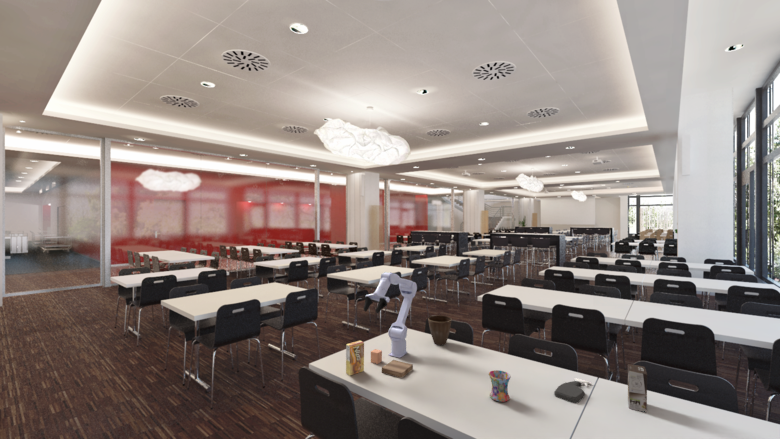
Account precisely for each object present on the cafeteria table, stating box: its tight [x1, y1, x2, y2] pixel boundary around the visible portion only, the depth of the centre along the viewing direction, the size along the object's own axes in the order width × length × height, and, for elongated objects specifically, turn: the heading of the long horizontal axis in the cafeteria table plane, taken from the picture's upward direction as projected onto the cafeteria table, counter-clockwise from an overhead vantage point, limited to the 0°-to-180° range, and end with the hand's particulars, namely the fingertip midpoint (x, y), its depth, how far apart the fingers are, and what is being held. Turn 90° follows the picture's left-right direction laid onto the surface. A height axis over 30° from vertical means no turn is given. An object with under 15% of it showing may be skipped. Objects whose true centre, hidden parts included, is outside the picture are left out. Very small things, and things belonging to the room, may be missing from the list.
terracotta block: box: [370, 348, 383, 365], centre depth 195 cm, size 4×4×6 cm
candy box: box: [345, 340, 365, 376], centre depth 182 cm, size 9×4×15 cm, turn 129°
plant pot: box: [427, 315, 452, 346], centre depth 224 cm, size 15×15×16 cm
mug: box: [488, 369, 512, 403], centre depth 157 cm, size 12×9×11 cm
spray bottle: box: [553, 377, 593, 404], centre depth 163 cm, size 3×11×24 cm
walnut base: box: [381, 359, 414, 379], centre depth 184 cm, size 12×12×3 cm
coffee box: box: [627, 363, 648, 413], centre depth 149 cm, size 9×6×16 cm
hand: (370, 311), depth 182 cm, fingers open, 7 cm apart
